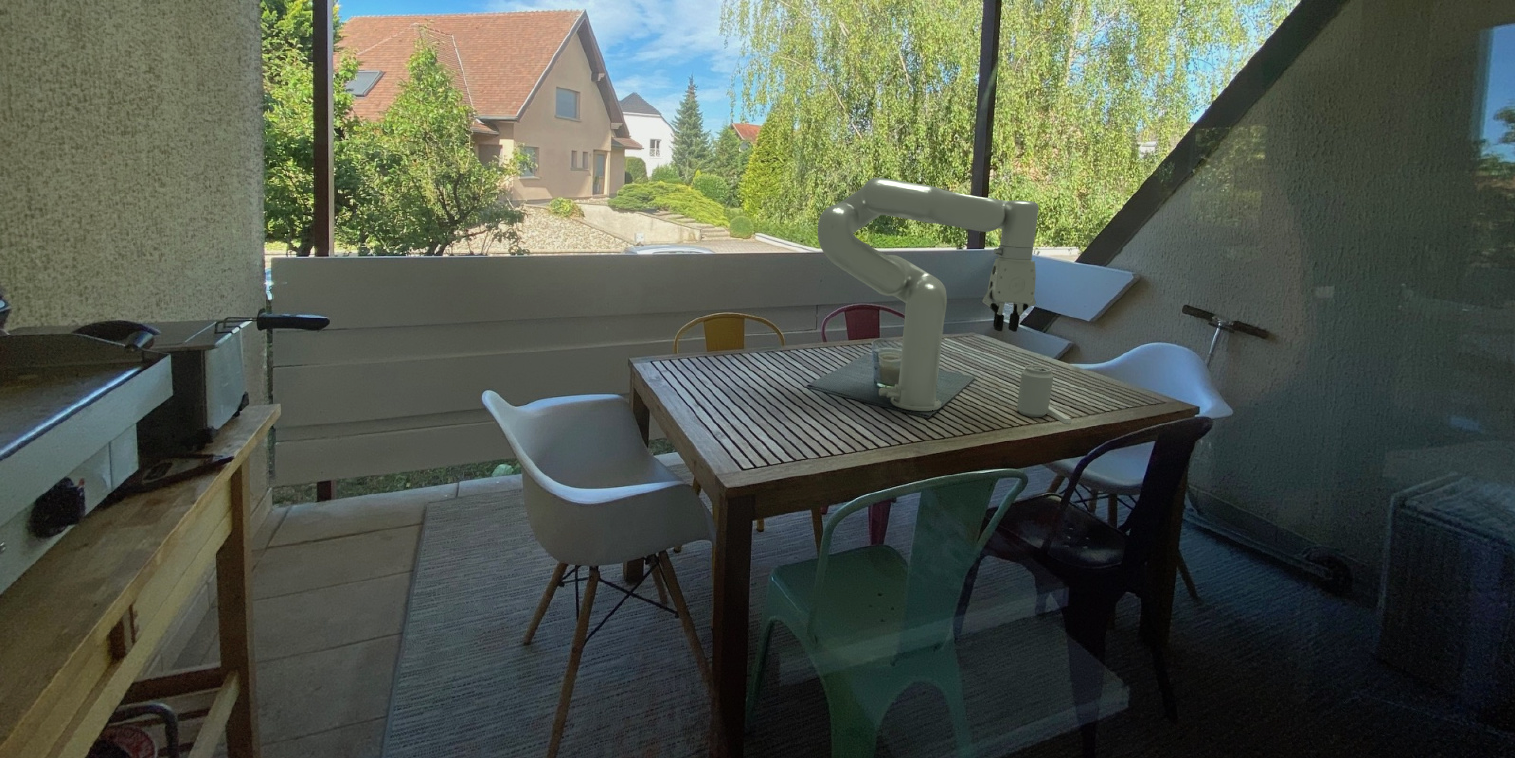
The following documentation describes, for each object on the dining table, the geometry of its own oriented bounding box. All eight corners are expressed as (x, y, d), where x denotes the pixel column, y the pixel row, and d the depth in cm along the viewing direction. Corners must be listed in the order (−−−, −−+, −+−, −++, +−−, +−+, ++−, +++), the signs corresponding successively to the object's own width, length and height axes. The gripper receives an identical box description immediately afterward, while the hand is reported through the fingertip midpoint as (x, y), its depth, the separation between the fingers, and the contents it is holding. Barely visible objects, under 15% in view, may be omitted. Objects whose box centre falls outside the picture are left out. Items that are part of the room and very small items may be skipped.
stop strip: (1064, 423, 187) (1065, 418, 186) (1029, 401, 204) (1029, 397, 204) (1070, 423, 187) (1071, 418, 187) (1035, 401, 204) (1035, 397, 204)
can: (1049, 419, 189) (1056, 372, 186) (1017, 416, 191) (1024, 369, 188) (1045, 410, 197) (1052, 365, 193) (1014, 407, 198) (1020, 362, 195)
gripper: (989, 254, 177) (979, 333, 182) (1055, 257, 180) (1044, 334, 184) (976, 251, 184) (966, 326, 189) (1040, 253, 187) (1029, 328, 192)
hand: (1005, 329), depth 187 cm, fingers open, 3 cm apart
